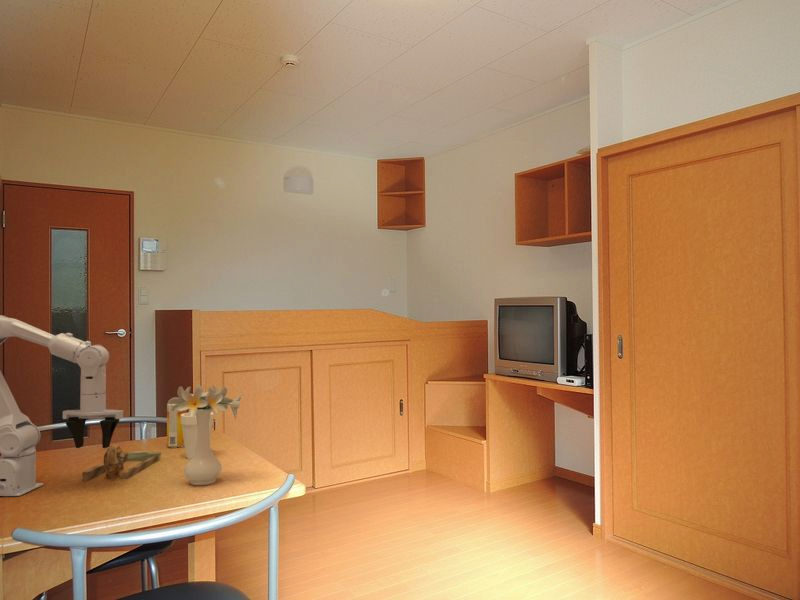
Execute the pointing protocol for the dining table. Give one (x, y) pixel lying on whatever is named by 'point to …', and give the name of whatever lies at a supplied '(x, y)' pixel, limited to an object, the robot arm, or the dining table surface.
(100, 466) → the flange channel
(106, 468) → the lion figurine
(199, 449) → the flower vase
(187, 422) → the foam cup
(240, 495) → the dining table surface
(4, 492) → the robot arm
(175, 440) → the yellow box
